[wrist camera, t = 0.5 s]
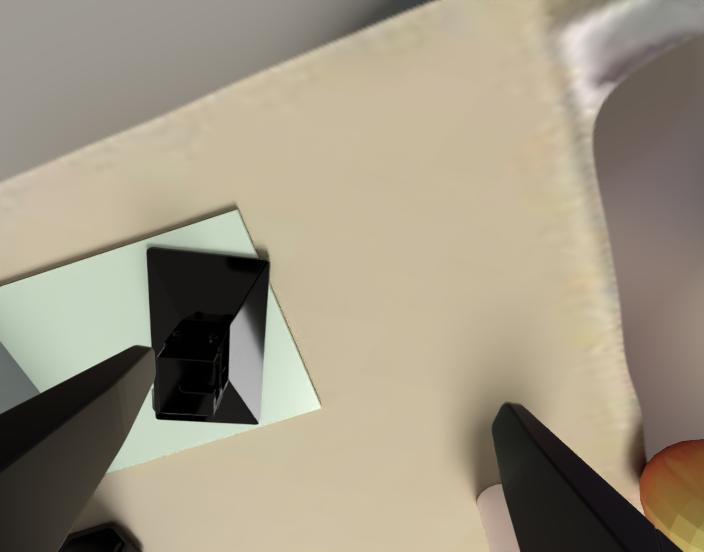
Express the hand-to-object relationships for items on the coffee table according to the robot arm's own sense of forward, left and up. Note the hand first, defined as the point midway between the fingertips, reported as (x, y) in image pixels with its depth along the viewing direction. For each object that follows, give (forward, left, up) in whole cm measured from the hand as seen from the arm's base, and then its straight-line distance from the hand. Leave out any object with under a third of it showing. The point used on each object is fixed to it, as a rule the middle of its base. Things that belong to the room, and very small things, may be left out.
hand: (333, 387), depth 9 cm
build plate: (-9, -4, -14) cm, 17 cm away
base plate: (-13, -4, -14) cm, 20 cm away
